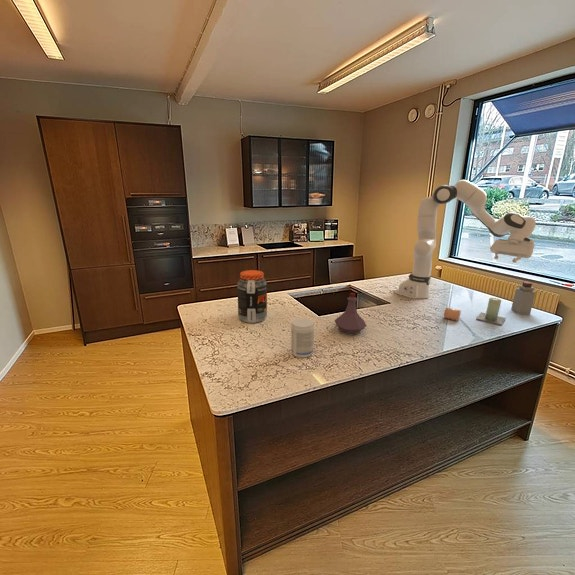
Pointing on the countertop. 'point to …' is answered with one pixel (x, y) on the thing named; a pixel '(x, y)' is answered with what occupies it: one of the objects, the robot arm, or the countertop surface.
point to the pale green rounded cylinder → (493, 308)
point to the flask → (350, 318)
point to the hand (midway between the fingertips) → (504, 260)
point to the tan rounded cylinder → (452, 314)
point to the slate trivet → (497, 322)
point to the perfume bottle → (523, 298)
